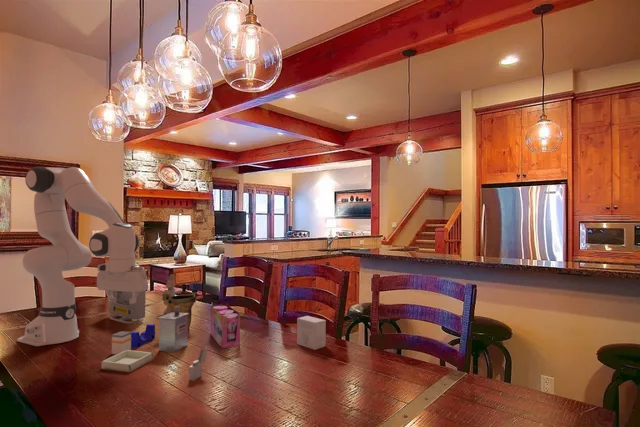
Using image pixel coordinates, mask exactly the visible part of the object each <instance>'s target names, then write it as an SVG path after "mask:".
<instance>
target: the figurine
mask: <svg viewBox="0 0 640 427" xmlns="http://www.w3.org/2000/svg"><path fill="white" fill-rule="evenodd" d="M175 286H176V283H175V274H173V273H172V274H170V275H169V276H168V280H167V282H166V284H165V288H166V289H164V290H163V292H162V293H161V296H162V299H161V300H162V301H163V294H164V293H169V295H170V297H172V296H176V289H175ZM164 305H165V304H164ZM165 306H166V308H165V310H164V311H163V314H164V315H166V314H169V313H171V312H172V310H171V308H170V306H169V305H165Z"/></svg>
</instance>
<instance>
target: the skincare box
mask: <svg viewBox="0 0 640 427" xmlns="http://www.w3.org/2000/svg"><path fill="white" fill-rule="evenodd" d="M326 322H327V320H326V319H321V318H318V317H313V316H310V315H305V316H301V317H297V318H296V325H297V326H296V328H297V329H296V330H297V331H296V336H297V337H296V345H297V346H298V345H299V346H301V347H305V348H308V349H311V350H314V351H316V350H318V349H321V348H324V347H326V345H327V344H326V342H327V341H326V340H327V339H326V338H327V337H326V336H327V334H326V330H327V328H326V327H327V326H326V325H327V323H326Z"/></svg>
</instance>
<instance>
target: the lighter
mask: <svg viewBox="0 0 640 427" xmlns="http://www.w3.org/2000/svg"><path fill="white" fill-rule="evenodd" d="M207 354H208V349H207V348H201V349H200V351H199V354H198V358H197V359H196V360H194V361H193V362H192V365H190V366H189V368H188V370H189V372H188V374H189V376H188V377H189V378H188V380H189V381H190V382H191V381H193V382H194V381H196V380H197V379H199V378H200V377H202V366H203V365H202V364H204V363H205V361H206V357H207Z"/></svg>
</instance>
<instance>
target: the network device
mask: <svg viewBox="0 0 640 427" xmlns="http://www.w3.org/2000/svg"><path fill="white" fill-rule="evenodd" d="M112 294H113V297H115V302H108V306H109V307H108V309H109V310H108V312H109V313H110V314H113V315H111V316H109V320H112V321H116V322H118V323H121V324H122V323H123V324H134V323H139V322H143V321H144V318H145V317H146V291H143V292H139V294H138V296H137V298H136V303H134V304H130V303H129V302H130V301H129V299H131V298H132V296H133V295H132V292H127V291H113V292H112ZM117 317H118V318H117ZM119 317H121V318H119ZM132 319H133V320H132ZM128 320H132V321H128Z"/></svg>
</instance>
